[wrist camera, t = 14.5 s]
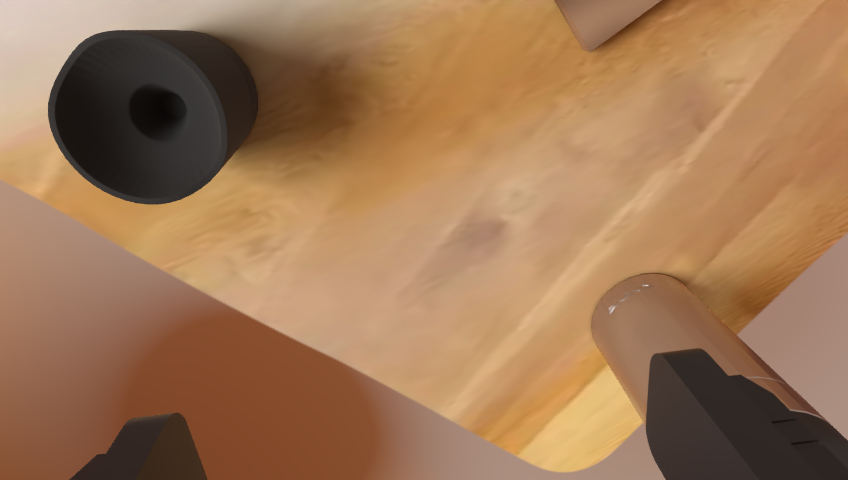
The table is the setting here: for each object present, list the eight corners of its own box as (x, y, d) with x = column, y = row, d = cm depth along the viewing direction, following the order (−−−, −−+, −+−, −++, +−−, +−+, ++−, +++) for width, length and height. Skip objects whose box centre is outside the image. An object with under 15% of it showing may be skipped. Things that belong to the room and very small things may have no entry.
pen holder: (109, 32, 37) (17, 42, 28) (247, 17, 37) (201, 20, 28) (152, 166, 41) (82, 213, 31) (277, 151, 41) (244, 194, 31)
